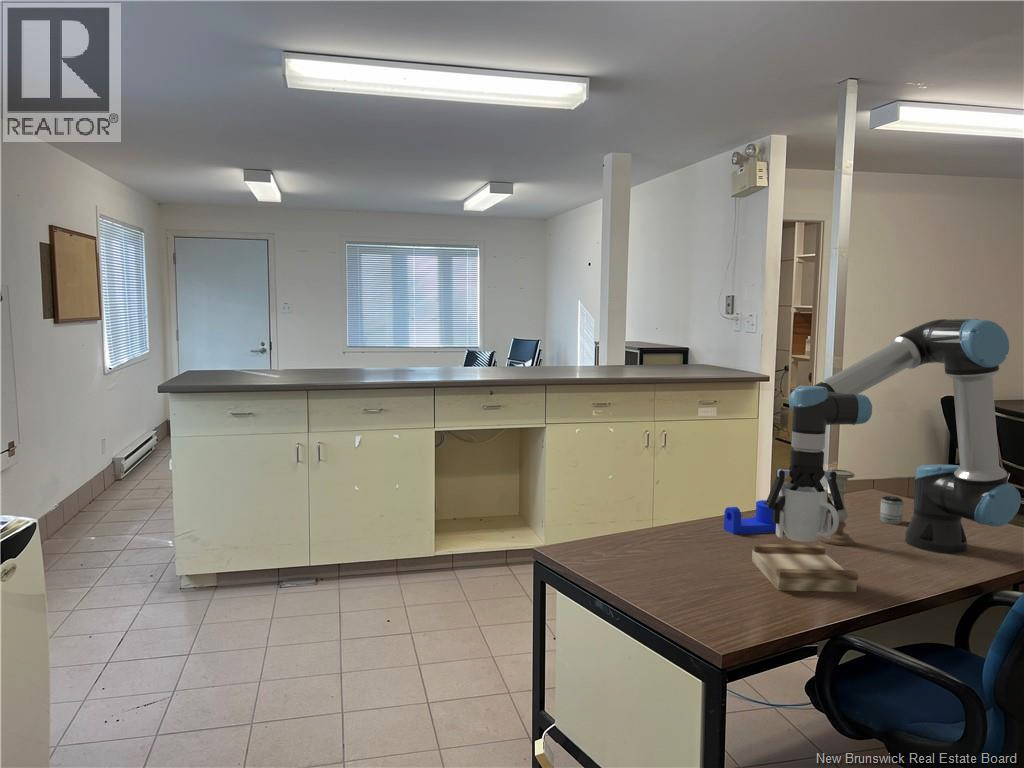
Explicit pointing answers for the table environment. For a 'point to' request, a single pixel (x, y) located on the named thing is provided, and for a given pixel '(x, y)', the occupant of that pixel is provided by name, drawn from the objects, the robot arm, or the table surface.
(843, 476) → the candle holder
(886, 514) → the camera lens
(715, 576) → the table surface
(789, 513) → the mug
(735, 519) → the bracket
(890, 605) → the table surface
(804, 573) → the wooden tray
